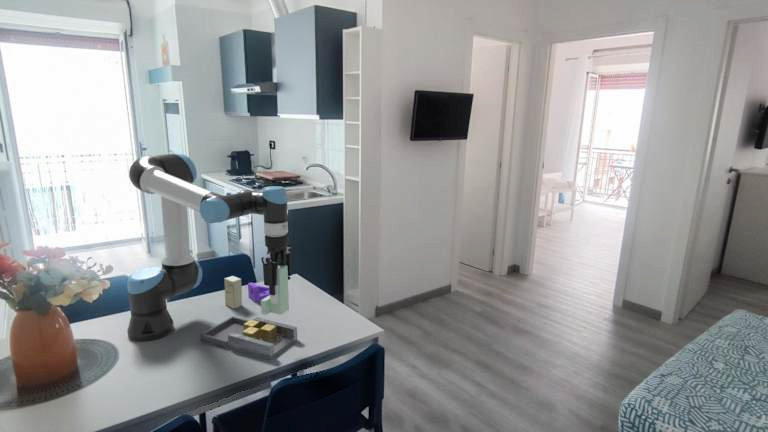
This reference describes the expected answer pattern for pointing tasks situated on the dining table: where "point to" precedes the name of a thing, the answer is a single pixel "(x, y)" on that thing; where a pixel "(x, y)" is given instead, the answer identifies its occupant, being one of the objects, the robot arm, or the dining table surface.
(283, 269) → the mint t-shaped block
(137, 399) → the dining table surface
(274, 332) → the tan yellow cube
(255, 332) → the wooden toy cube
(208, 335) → the chip tray
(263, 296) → the bracket
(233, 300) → the skincare box
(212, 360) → the dining table surface
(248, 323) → the dull yellow cube
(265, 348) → the slot rail
